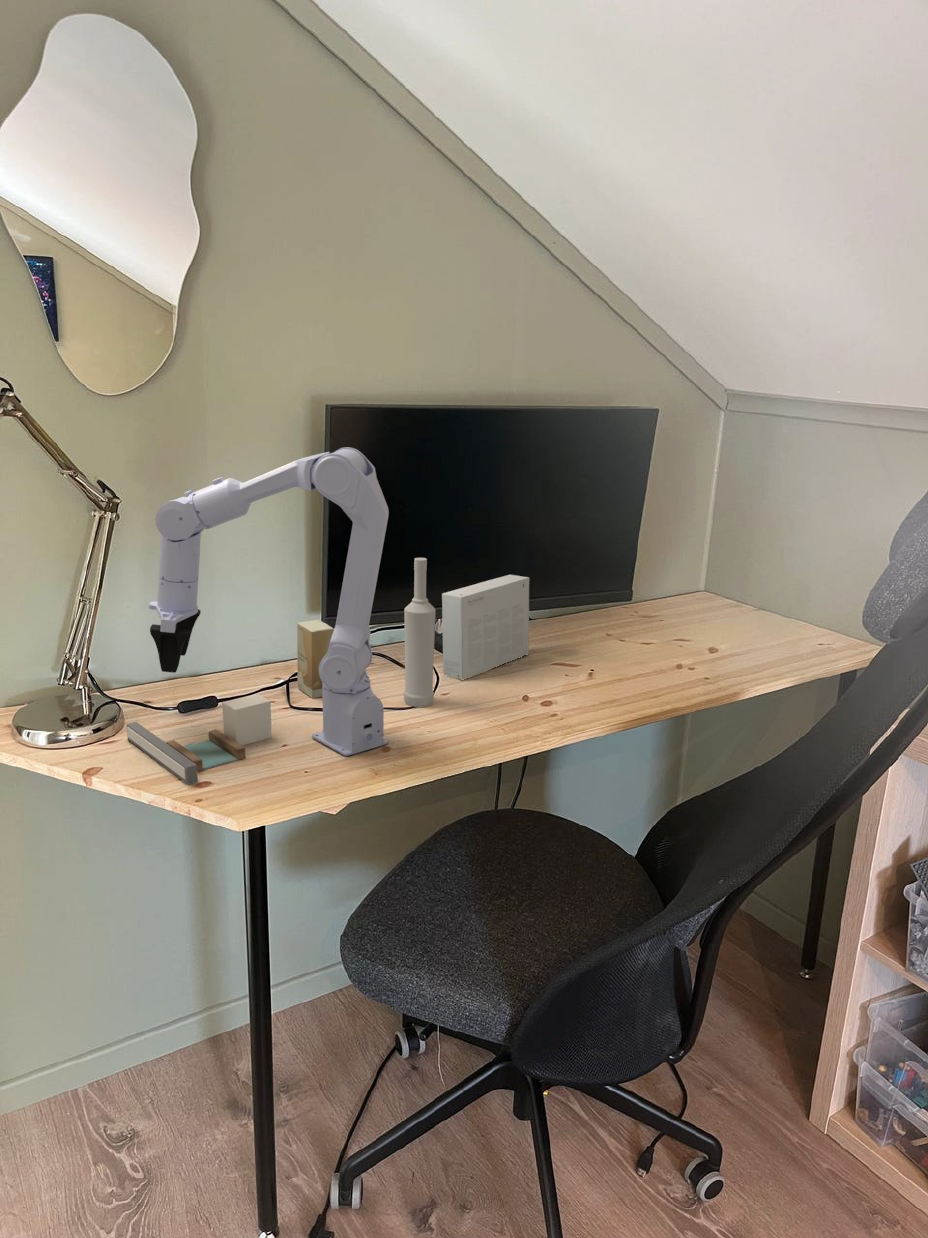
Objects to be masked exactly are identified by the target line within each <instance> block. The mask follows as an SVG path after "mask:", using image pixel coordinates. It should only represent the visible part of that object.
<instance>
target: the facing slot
mask: <svg viewBox="0 0 928 1238" xmlns="http://www.w3.org/2000/svg"><path fill="white" fill-rule="evenodd" d="M165 743H167V744H168V745H170V746H171V747H172V748H174V749H175V750H177V751H178V752H179V753H181V754H182V755H184V756H185V757H186V758H188V759H189V760H191V761H192V762H194V763H195V764H196V765H197V773H198V772H200V771H204V770H208V769H212V768H214V767H218V766H222V765H225V764H229V763H233V762H236V761H239V760H243V759H246V747H245V746H244V745H240V744H238V743H237V742H235V741H234V740H232V739H230V738H229V737H227V736H226V735H224V732H223V733H222V732H221V731H219V730H218V729H215V728H214V729H211V730H209V731H208V739H207V740H202V741H199V742H196V743H192V744H187V745H184V746H183V744H180V743H179V742H177V741H176V740H175V739H173V740H169V741H166V742H165Z"/></svg>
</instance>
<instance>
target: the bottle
mask: <svg viewBox="0 0 928 1238" xmlns="http://www.w3.org/2000/svg"><path fill="white" fill-rule="evenodd" d="M427 560H428V559H427V558H426V557H415V558H414V562H413V564H414V565H413V567H414V568H413V570H414V577H413V578H414V582H413V584H414V585H413V586H414V587H413V591H414V592H413V595H414V596H413V598H412V599H411V602H410V603H408V605H407V606H405V608H404V610H403V611H404V674H405V675H404V680H405V681H404V682H405V684H404V686H405V688H404V689H405V690H404V691H403V701H404V703H405V705H406V706H407V705H408V706H410V707H413V708H415V707H416V708H423V707H428V706H430V705H432V704H433V703H434V702H433V701H434V699H435V698H434V697H435V692H434V690H433V689H434V688H433V686H434V662H435V661H434V660H435V659H434V658H435V656H434V655H435V636H436V635H435V633H436V630H435V629H436V608H435V607H434V606H433V605H432V604H431V603H430V602H429V599H428V598H427V571H428V570H427V565H428V561H427Z"/></svg>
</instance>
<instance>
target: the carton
mask: <svg viewBox="0 0 928 1238" xmlns="http://www.w3.org/2000/svg"><path fill="white" fill-rule="evenodd" d="M221 705H222V707H221V708H222V729H223V730H222V731H223V734H224V735H226V736H227V737H229V738H230V739H232V740H234V741H235V742H237V743H238V744H240V745H242V746H245V745H248V744H253V743H256V742H259V741H263V740H267V739H270V738H271V739H272V709H271V706H272V705H271V700H270V699H267V698H265V697H263V696H262V695H261V694H258V693H255V694H252V695H246V696H243V697H238V698H234V699H230V700H226V701H222V702H221Z"/></svg>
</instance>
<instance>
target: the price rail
mask: <svg viewBox="0 0 928 1238" xmlns="http://www.w3.org/2000/svg"><path fill="white" fill-rule="evenodd" d="M126 733H127V740H128V741H129V742H130V743H132V744H133V745H134V746H136V747H137V748H138V749H140V750H141V751H142V752H144V753H145V754H146V755H148V756H149V757H151V758H152V759H153V760H155V761H156V762H157V763H159V764H160V765H161V766H162V767H164V769H166V770H167V771H169V772H171V773H172V774H173V775H174V776H176V777H177V778H178V779H180V780H181V781H183V782H184V783H185V784H187V785H192V784H193V783H198V781H199V779H198V778H199V777H198V772H197V765H196V764H195V763H194V762H192V761H191V760H189V759H188V758H186V757H185V756H184V755H182V754H181V753H179V752H178V751H177V750H175V749H174V748H172V747H171V746H170V745H168V744H167V743H166V742H165V741H164V740H162V739H161V738H160V737H158V735H155V734H154V733H153V732H151V731H150V730H149V729H148V728H145V727H144V726H142V725H141V724H140V723H139V722H137V721H134V722H130V723H126Z"/></svg>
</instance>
